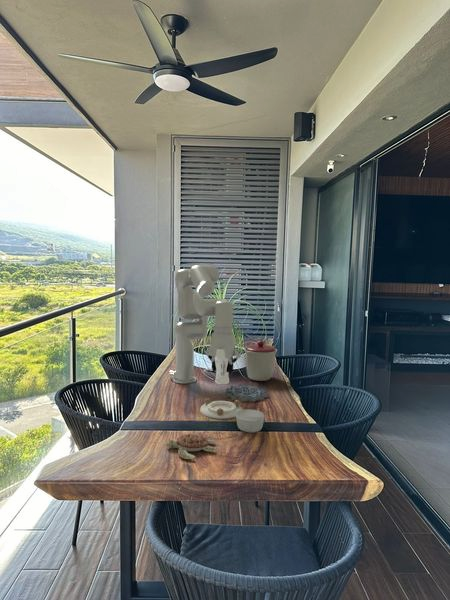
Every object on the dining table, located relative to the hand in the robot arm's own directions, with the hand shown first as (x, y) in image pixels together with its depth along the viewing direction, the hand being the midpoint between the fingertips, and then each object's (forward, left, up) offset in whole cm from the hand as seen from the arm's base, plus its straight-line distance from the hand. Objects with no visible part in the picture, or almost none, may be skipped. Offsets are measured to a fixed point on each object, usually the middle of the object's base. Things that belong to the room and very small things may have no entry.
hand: (222, 371), depth 167 cm
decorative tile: (+4, +24, -18) cm, 30 cm away
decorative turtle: (+2, -36, -18) cm, 40 cm away
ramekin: (+16, -12, -17) cm, 27 cm away
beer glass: (0, 0, -5) cm, 5 cm away
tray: (0, 0, -17) cm, 17 cm away
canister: (+3, +53, -17) cm, 56 cm away
